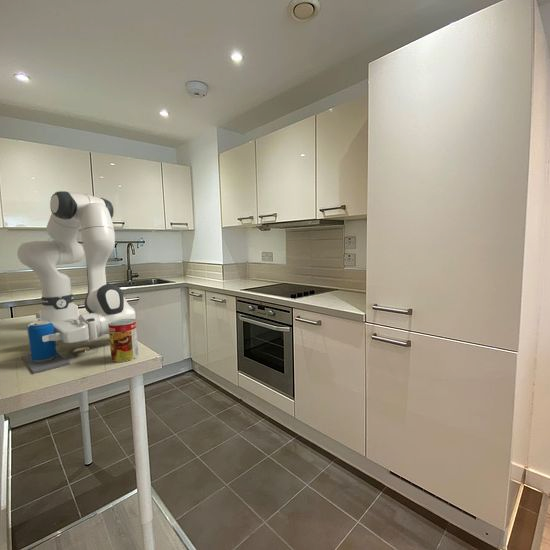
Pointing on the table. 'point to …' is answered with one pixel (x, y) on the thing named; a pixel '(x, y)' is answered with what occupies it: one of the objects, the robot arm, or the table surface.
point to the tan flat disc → (81, 349)
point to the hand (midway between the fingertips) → (38, 336)
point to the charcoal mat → (45, 363)
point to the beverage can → (37, 346)
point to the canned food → (123, 339)
